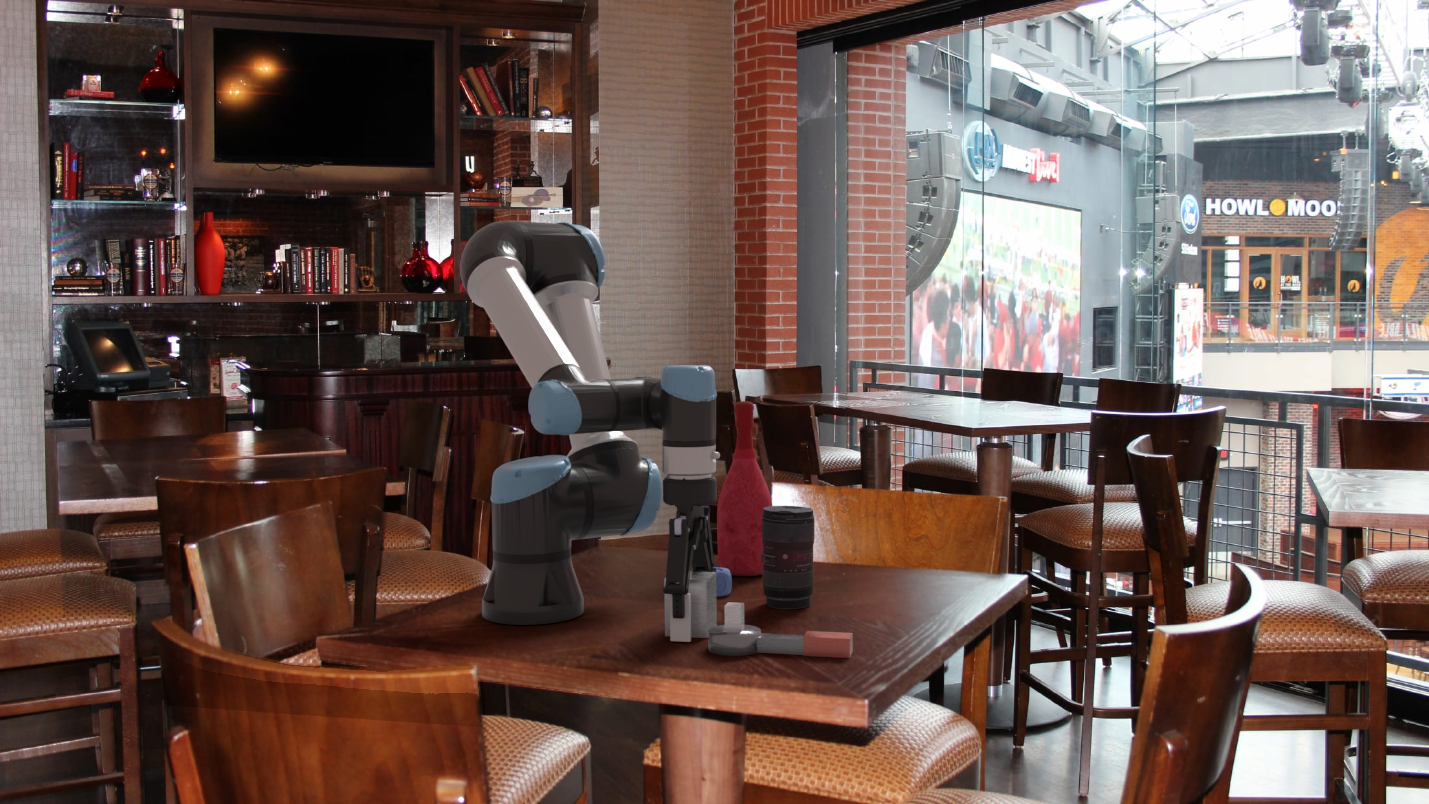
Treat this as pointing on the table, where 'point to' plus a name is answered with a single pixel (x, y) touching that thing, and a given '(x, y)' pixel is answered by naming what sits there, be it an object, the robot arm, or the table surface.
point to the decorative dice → (723, 581)
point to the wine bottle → (742, 503)
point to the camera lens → (787, 556)
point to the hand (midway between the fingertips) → (691, 630)
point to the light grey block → (698, 604)
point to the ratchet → (773, 639)
